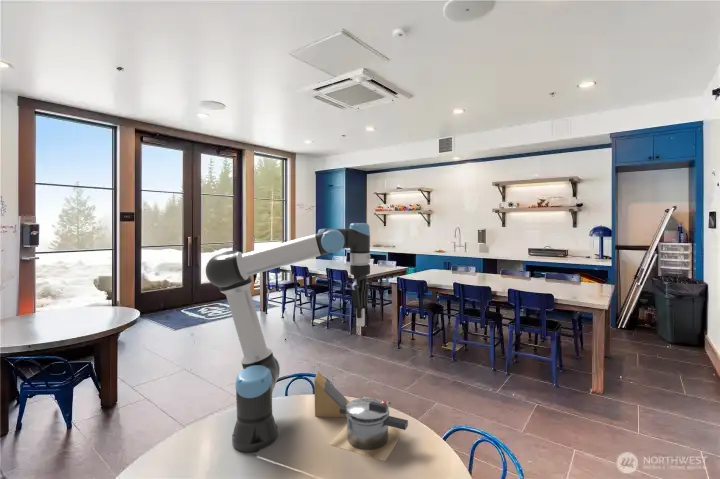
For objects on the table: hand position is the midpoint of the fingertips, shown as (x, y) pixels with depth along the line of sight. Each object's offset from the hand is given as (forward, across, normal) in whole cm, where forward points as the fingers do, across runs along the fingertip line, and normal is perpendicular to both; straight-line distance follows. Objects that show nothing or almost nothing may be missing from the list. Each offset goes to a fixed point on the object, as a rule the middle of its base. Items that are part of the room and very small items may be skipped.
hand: (360, 325), depth 140 cm
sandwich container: (+35, -3, +9) cm, 36 cm away
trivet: (+34, -14, -9) cm, 38 cm away
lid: (+24, -14, -9) cm, 29 cm away
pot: (+34, -14, -11) cm, 38 cm away
